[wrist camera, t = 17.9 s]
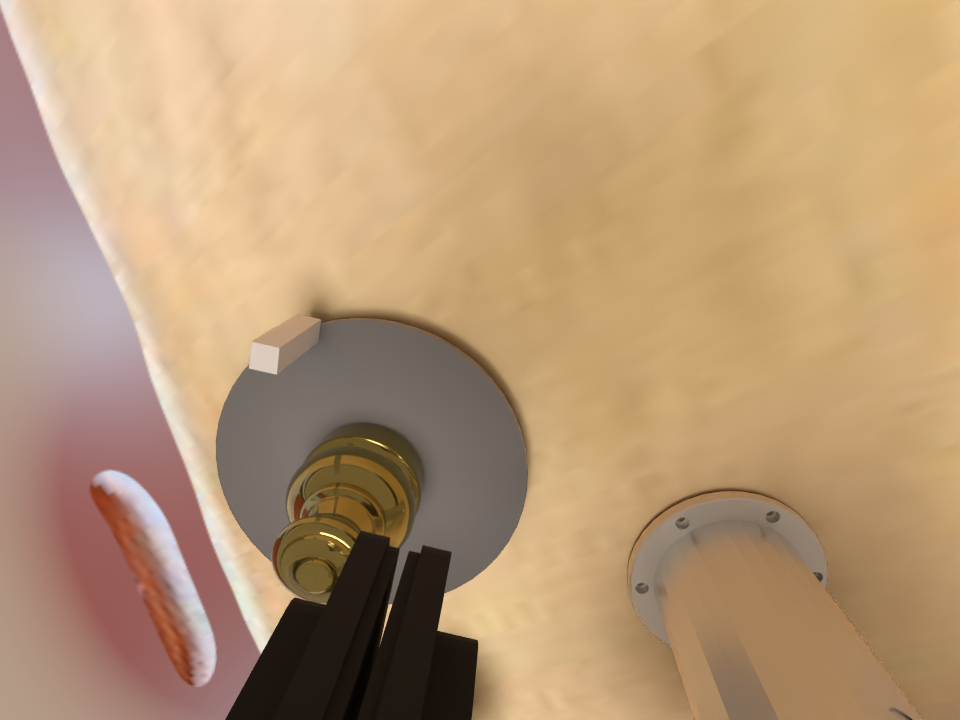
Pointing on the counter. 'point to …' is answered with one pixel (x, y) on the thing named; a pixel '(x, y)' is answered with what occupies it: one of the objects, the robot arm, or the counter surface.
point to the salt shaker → (345, 505)
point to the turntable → (384, 402)
